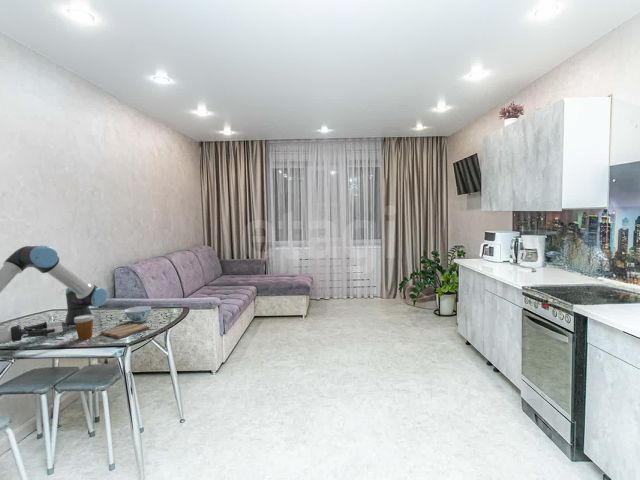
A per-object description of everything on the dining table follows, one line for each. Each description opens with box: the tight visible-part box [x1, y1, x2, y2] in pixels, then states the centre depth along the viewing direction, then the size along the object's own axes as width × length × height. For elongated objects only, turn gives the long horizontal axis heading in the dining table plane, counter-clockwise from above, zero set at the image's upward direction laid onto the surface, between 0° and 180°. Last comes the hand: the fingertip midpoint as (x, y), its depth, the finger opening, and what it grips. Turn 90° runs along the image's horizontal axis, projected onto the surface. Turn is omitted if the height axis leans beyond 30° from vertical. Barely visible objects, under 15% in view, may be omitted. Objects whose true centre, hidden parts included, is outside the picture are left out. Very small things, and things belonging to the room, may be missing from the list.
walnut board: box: [100, 322, 150, 339], centre depth 220 cm, size 18×18×2 cm
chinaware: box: [124, 305, 152, 324], centre depth 242 cm, size 15×15×8 cm
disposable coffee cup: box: [74, 314, 95, 341], centre depth 211 cm, size 10×10×12 cm
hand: (62, 326), depth 205 cm, fingers open, 13 cm apart
